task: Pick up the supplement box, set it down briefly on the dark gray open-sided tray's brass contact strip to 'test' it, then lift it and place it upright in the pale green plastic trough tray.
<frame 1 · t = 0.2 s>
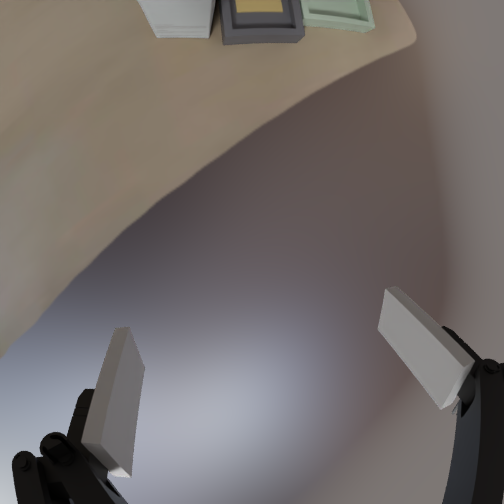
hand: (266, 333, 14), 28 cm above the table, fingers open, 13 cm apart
supplement box: (185, 16, 28), on the table
dark gray open-sided tray: (256, 10, 29), on the table
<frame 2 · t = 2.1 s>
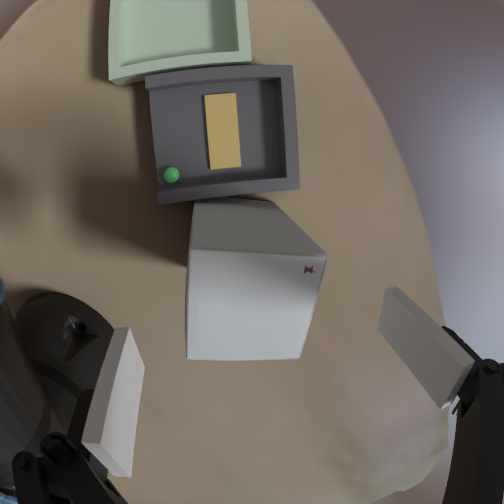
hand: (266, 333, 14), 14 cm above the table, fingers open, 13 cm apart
trough tray: (178, 21, 18), on the table
supplement box: (230, 235, 27), on the table
dark gray open-sided tray: (221, 131, 23), on the table
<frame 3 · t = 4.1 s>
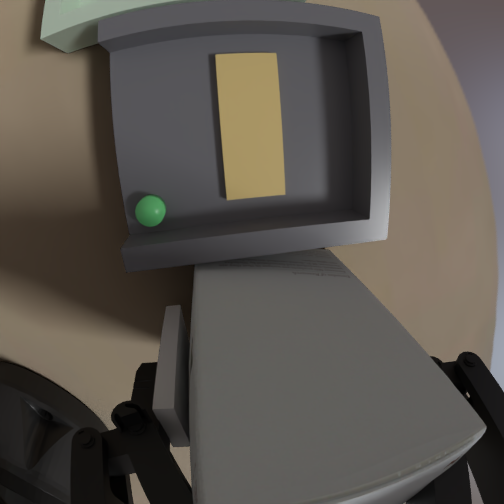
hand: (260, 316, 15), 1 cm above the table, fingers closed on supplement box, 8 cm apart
supplement box: (256, 301, 17), on the table, touching gripper
dark gray open-sided tray: (243, 125, 13), on the table
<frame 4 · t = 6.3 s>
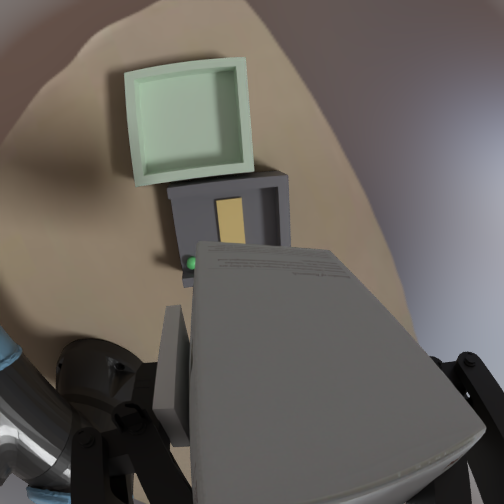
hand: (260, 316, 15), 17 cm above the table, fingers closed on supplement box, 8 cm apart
trough tray: (189, 120, 26), on the table
supplement box: (256, 302, 17), point 16 cm above the table, touching gripper
dark gray open-sided tray: (229, 222, 31), on the table
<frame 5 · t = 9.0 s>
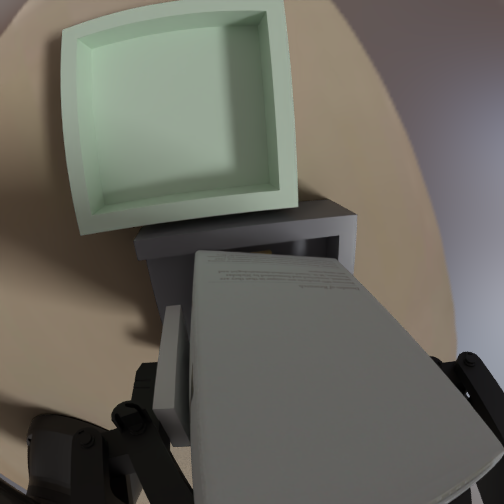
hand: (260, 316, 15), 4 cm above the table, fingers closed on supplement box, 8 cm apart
trough tray: (177, 109, 14), on the table
supplement box: (258, 313, 16), point 3 cm above the table, touching dark gray open-sided tray, gripper
dark gray open-sided tray: (247, 284, 19), on the table
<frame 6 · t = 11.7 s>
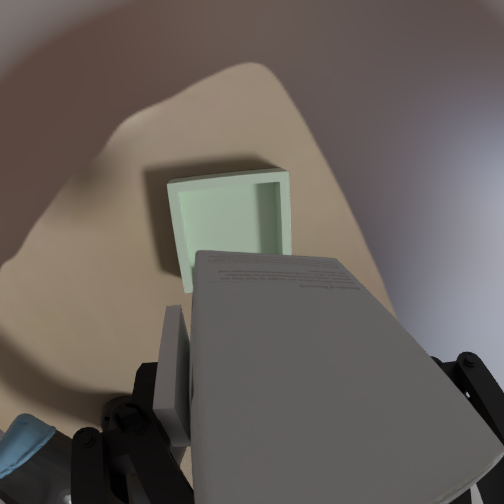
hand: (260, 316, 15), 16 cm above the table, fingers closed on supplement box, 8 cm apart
trough tray: (230, 225, 30), on the table
supplement box: (258, 313, 16), point 16 cm above the table, touching gripper
when the fingers open (5 cm above the table, at t = 14.5 s): supplement box drops 4 cm, resting on trough tray.
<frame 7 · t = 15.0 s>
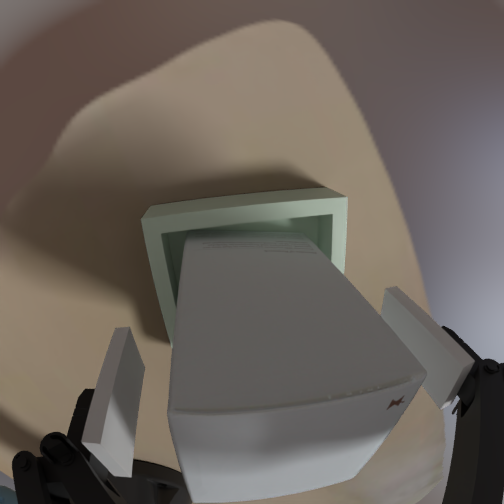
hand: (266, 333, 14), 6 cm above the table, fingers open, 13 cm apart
trough tray: (247, 276, 20), on the table
supplement box: (242, 282, 19), point 1 cm above the table, touching trough tray
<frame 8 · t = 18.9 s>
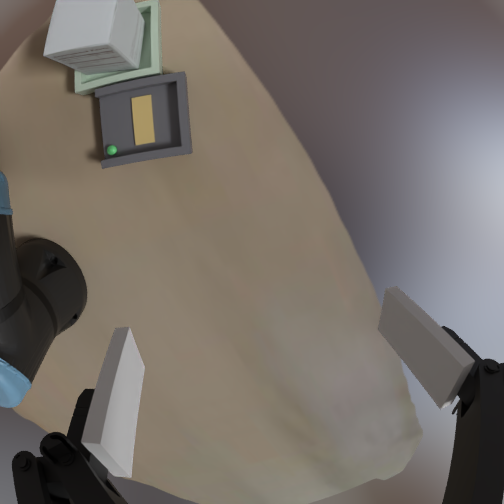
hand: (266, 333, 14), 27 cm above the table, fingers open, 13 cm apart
trough tray: (120, 48, 28), on the table
supplement box: (116, 48, 27), point 1 cm above the table, touching trough tray
dark gray open-sided tray: (146, 120, 32), on the table
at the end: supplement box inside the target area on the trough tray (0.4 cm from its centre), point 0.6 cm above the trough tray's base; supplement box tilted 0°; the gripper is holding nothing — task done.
